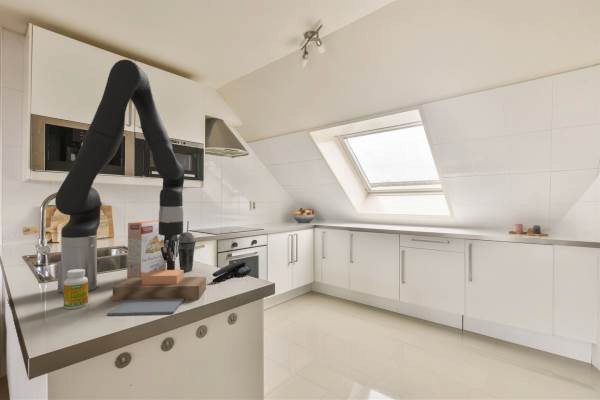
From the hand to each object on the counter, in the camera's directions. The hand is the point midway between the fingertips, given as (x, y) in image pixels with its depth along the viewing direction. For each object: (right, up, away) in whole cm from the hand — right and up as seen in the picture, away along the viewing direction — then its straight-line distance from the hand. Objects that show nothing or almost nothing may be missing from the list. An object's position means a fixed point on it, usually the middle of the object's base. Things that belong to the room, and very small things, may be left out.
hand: (170, 272), depth 100 cm
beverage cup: (-3, -5, +22) cm, 23 cm away
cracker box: (-13, -5, +11) cm, 18 cm away
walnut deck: (+1, -5, -8) cm, 9 cm away
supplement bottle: (-18, -5, -18) cm, 26 cm away
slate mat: (+2, -5, -18) cm, 19 cm away
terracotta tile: (+1, 0, -7) cm, 7 cm away
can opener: (+17, -6, +13) cm, 22 cm away
